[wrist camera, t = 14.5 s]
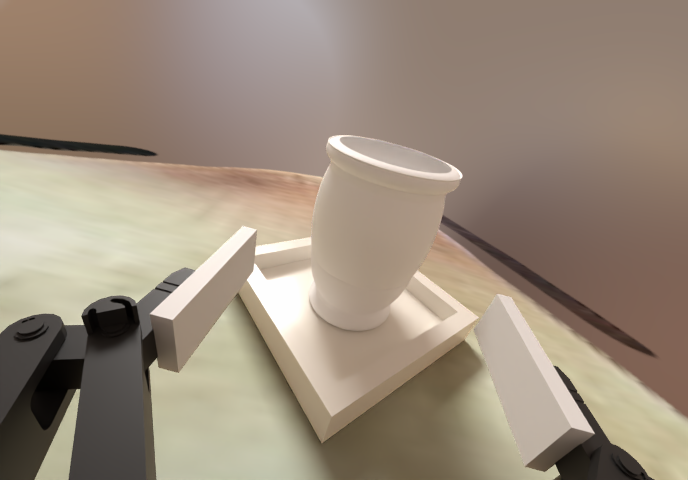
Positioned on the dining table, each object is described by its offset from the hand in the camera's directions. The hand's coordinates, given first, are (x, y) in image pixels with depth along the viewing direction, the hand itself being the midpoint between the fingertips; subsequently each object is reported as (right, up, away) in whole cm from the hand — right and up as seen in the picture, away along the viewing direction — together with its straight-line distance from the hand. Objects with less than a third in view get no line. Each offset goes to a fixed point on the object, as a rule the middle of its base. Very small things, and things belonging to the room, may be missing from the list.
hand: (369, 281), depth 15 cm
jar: (-1, -4, +13) cm, 14 cm away
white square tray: (-1, -5, +14) cm, 15 cm away
